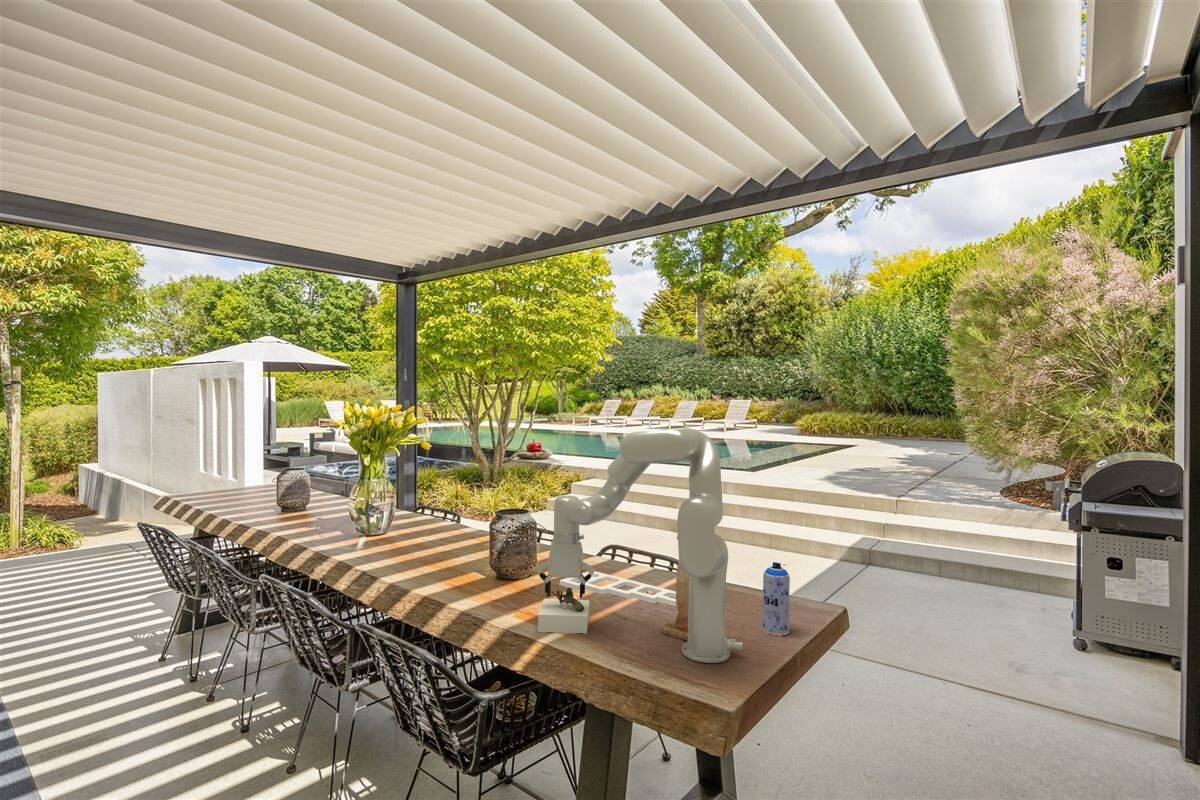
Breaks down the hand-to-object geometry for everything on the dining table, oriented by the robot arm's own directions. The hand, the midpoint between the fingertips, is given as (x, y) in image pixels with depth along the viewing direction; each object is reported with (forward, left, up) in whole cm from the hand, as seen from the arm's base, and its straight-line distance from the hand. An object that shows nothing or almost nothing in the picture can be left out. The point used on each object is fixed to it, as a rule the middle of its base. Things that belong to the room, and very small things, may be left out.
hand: (564, 595), depth 179 cm
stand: (0, 0, -8) cm, 8 cm away
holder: (-18, -30, -9) cm, 36 cm away
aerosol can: (-62, 0, -8) cm, 63 cm away
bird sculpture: (-36, +4, -9) cm, 37 cm away
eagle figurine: (-1, +1, -4) cm, 4 cm away
